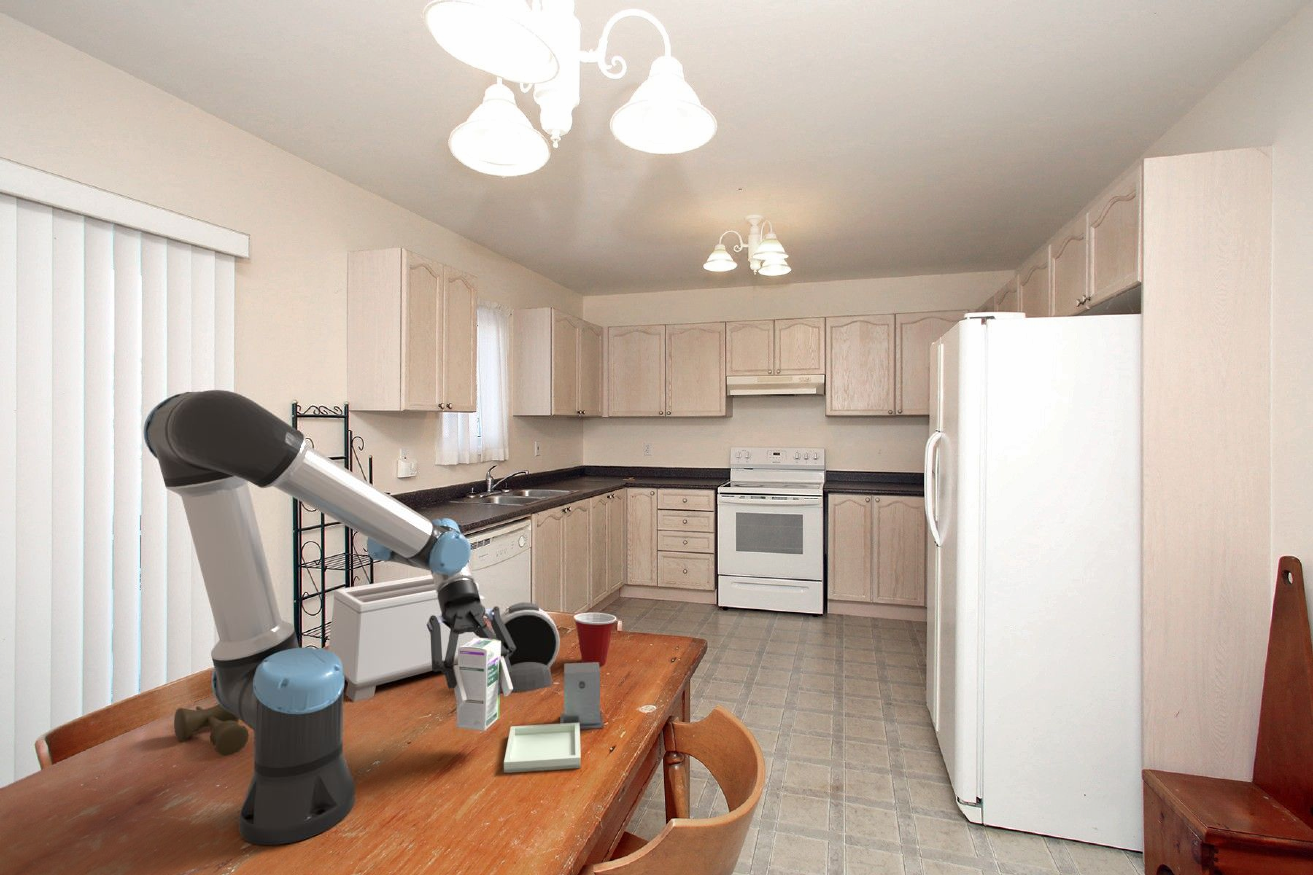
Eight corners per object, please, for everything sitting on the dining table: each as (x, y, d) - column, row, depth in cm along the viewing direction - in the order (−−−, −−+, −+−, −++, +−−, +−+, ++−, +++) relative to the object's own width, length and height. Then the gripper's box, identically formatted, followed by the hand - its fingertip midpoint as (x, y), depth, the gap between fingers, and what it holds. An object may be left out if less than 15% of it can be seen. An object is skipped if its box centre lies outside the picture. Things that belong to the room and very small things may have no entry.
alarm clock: (488, 695, 136) (489, 613, 136) (485, 678, 146) (486, 601, 146) (561, 686, 141) (562, 607, 141) (554, 670, 151) (554, 595, 151)
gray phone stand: (560, 730, 120) (560, 674, 120) (560, 716, 126) (560, 662, 126) (603, 727, 122) (603, 672, 122) (601, 714, 128) (602, 661, 127)
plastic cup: (624, 661, 157) (625, 614, 157) (598, 674, 148) (599, 625, 148) (591, 652, 163) (591, 607, 163) (564, 665, 154) (564, 617, 154)
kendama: (200, 768, 107) (166, 730, 119) (263, 748, 114) (224, 714, 127) (202, 734, 107) (167, 699, 119) (264, 715, 114) (225, 685, 127)
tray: (503, 772, 105) (503, 762, 105) (510, 735, 118) (510, 726, 118) (580, 767, 107) (580, 757, 107) (579, 731, 120) (579, 722, 120)
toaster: (497, 662, 156) (498, 581, 156) (353, 702, 132) (354, 606, 132) (461, 643, 170) (462, 568, 170) (325, 676, 146) (326, 589, 146)
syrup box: (485, 731, 109) (488, 649, 109) (454, 727, 110) (457, 645, 110) (499, 718, 114) (502, 639, 114) (470, 714, 115) (473, 636, 116)
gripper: (499, 592, 131) (532, 694, 118) (397, 606, 118) (421, 722, 105) (511, 572, 127) (546, 675, 114) (406, 583, 114) (432, 701, 101)
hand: (486, 697), depth 109 cm, fingers closed on syrup box, 8 cm apart
